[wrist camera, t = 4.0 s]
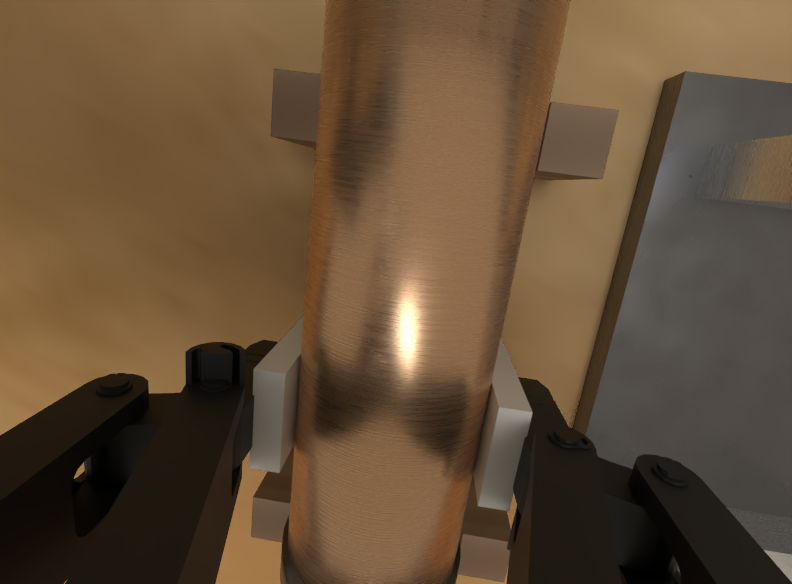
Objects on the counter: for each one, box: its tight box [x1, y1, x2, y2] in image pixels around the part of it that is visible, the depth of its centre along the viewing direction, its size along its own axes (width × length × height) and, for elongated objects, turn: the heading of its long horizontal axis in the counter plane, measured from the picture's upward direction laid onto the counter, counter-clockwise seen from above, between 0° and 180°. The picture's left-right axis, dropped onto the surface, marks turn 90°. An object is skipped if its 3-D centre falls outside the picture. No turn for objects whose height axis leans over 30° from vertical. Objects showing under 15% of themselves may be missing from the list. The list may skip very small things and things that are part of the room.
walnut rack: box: [251, 69, 619, 582], centre depth 18 cm, size 18×11×6 cm, turn 173°
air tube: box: [280, 0, 571, 584], centre depth 12 cm, size 22×5×5 cm, turn 173°
